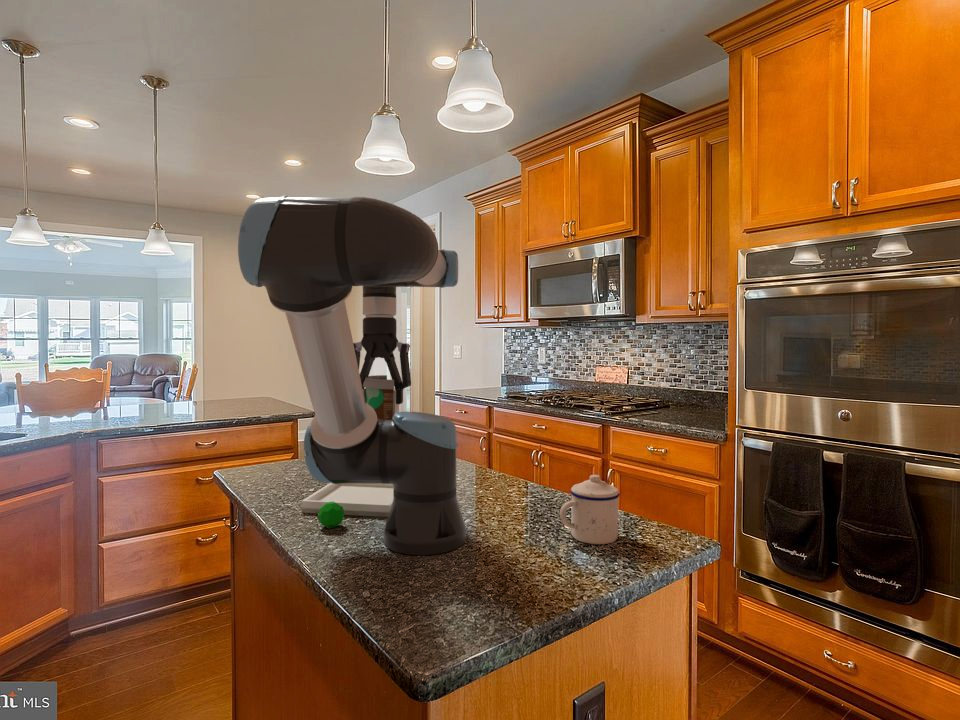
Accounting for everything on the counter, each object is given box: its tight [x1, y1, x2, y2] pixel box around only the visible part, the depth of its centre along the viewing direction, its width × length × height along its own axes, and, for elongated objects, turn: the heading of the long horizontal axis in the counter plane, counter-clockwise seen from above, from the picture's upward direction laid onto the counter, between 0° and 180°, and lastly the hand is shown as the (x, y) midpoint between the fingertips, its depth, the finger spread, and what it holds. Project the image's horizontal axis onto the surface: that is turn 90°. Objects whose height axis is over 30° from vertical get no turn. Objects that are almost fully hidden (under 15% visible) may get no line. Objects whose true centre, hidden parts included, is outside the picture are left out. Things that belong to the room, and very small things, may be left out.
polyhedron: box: [317, 502, 345, 529], centre depth 106 cm, size 5×5×5 cm
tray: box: [301, 483, 393, 518], centre depth 123 cm, size 20×20×2 cm
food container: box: [363, 374, 395, 420], centre depth 122 cm, size 12×6×10 cm, turn 18°
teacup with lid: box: [559, 474, 620, 545], centre depth 101 cm, size 12×9×12 cm
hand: (379, 417), depth 123 cm, fingers closed on food container, 7 cm apart
